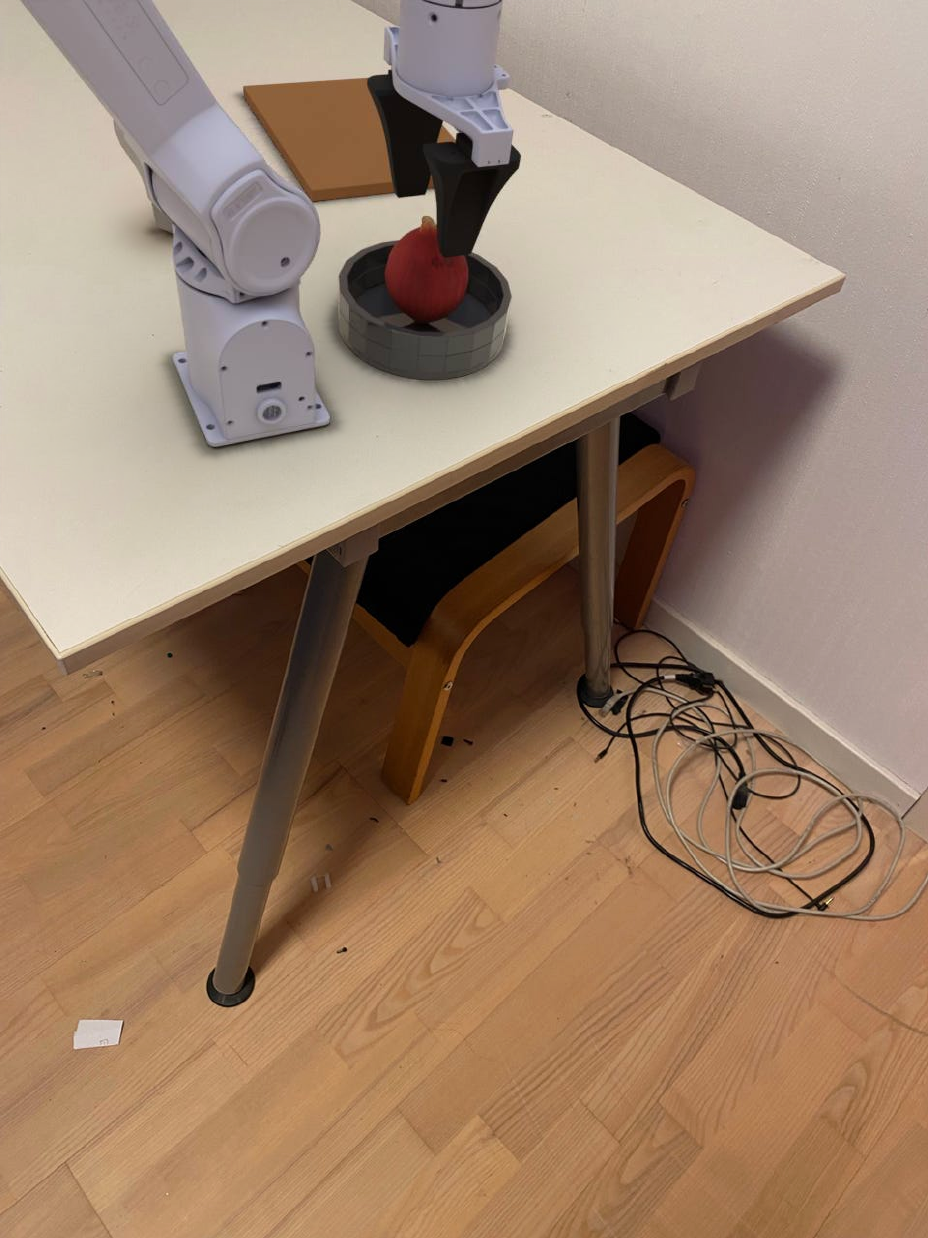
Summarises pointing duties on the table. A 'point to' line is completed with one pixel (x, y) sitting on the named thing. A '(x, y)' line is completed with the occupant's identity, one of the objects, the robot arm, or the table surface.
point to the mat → (328, 135)
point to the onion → (425, 276)
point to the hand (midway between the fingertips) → (432, 222)
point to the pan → (421, 347)
